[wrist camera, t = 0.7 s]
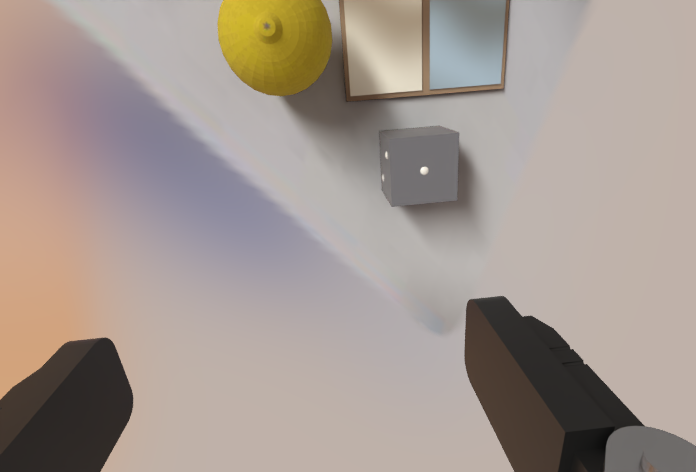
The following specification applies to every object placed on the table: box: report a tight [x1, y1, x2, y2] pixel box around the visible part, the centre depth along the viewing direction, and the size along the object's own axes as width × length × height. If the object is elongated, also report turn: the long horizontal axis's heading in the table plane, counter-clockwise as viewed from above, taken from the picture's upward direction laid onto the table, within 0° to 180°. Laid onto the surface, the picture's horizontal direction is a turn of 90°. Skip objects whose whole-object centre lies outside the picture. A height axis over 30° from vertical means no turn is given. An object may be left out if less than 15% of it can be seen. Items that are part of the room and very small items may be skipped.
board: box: [339, 0, 509, 102], centre depth 23 cm, size 10×10×1 cm
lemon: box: [218, 0, 332, 96], centre depth 19 cm, size 6×6×8 cm
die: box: [379, 126, 459, 207], centre depth 24 cm, size 4×4×4 cm
